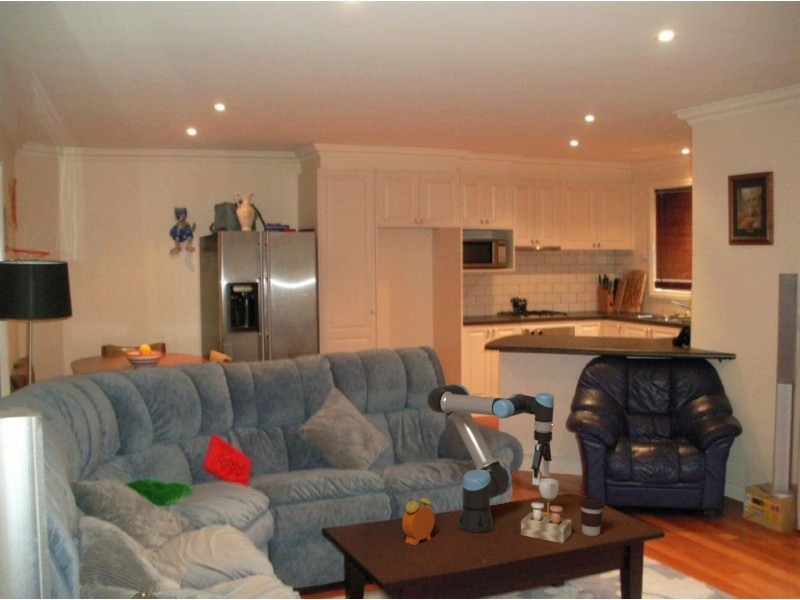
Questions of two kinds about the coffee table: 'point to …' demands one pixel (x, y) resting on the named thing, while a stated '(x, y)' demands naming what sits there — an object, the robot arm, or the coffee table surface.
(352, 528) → the coffee table surface
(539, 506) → the ivory plug
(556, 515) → the terracotta plug
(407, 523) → the alarm clock
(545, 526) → the beech block
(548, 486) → the cup
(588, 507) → the coffee cup
